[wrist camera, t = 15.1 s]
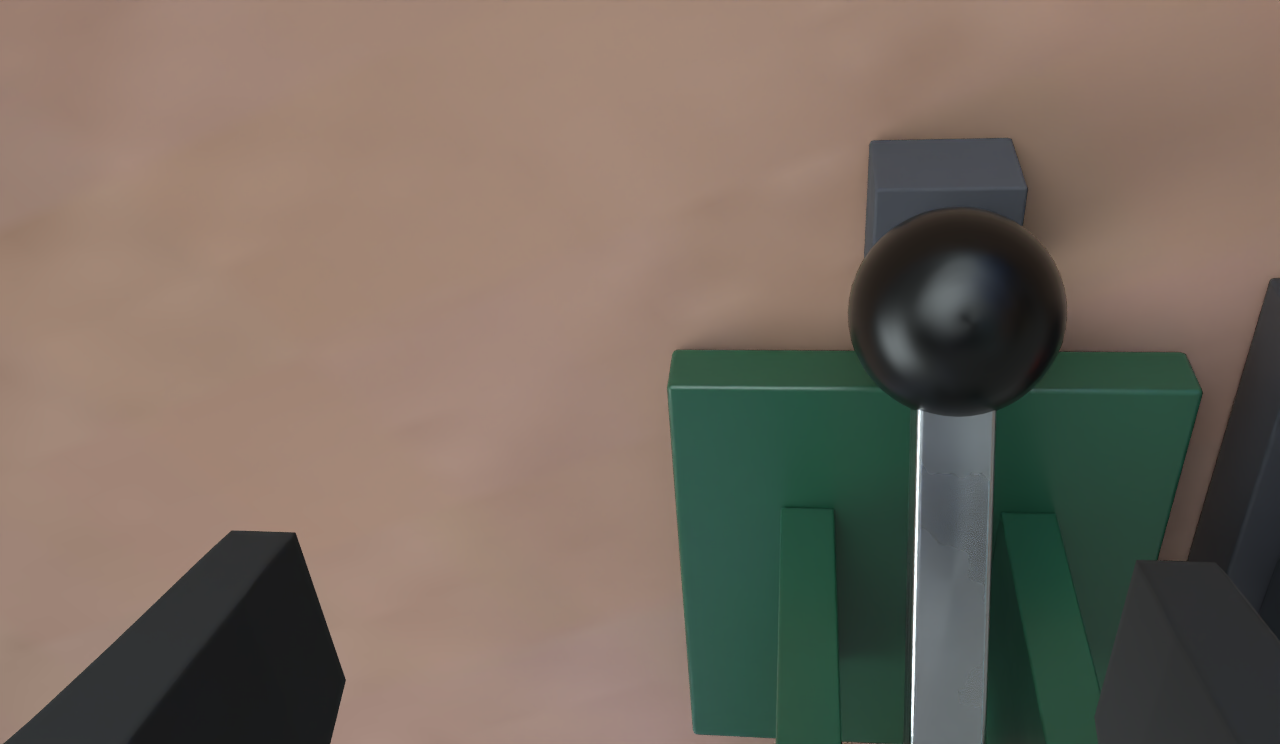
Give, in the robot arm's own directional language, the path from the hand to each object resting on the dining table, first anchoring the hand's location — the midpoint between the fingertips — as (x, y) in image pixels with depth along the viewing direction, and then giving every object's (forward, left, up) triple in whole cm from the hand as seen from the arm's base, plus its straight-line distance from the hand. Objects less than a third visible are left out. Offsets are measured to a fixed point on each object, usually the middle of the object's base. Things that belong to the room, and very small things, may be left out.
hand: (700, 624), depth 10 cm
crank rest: (-2, -3, -10) cm, 11 cm away
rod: (-6, -3, -6) cm, 9 cm away
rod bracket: (-9, -3, -10) cm, 14 cm away
